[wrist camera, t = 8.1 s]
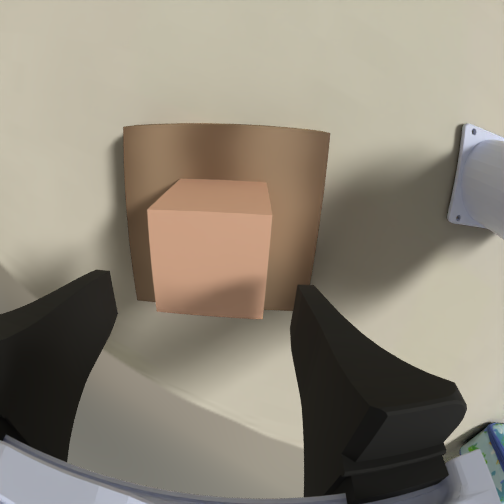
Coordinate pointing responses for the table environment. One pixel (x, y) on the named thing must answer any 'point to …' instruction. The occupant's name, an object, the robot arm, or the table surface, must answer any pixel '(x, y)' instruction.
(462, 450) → the lunch box
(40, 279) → the table surface
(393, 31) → the table surface
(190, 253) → the terracotta block
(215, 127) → the walnut block
